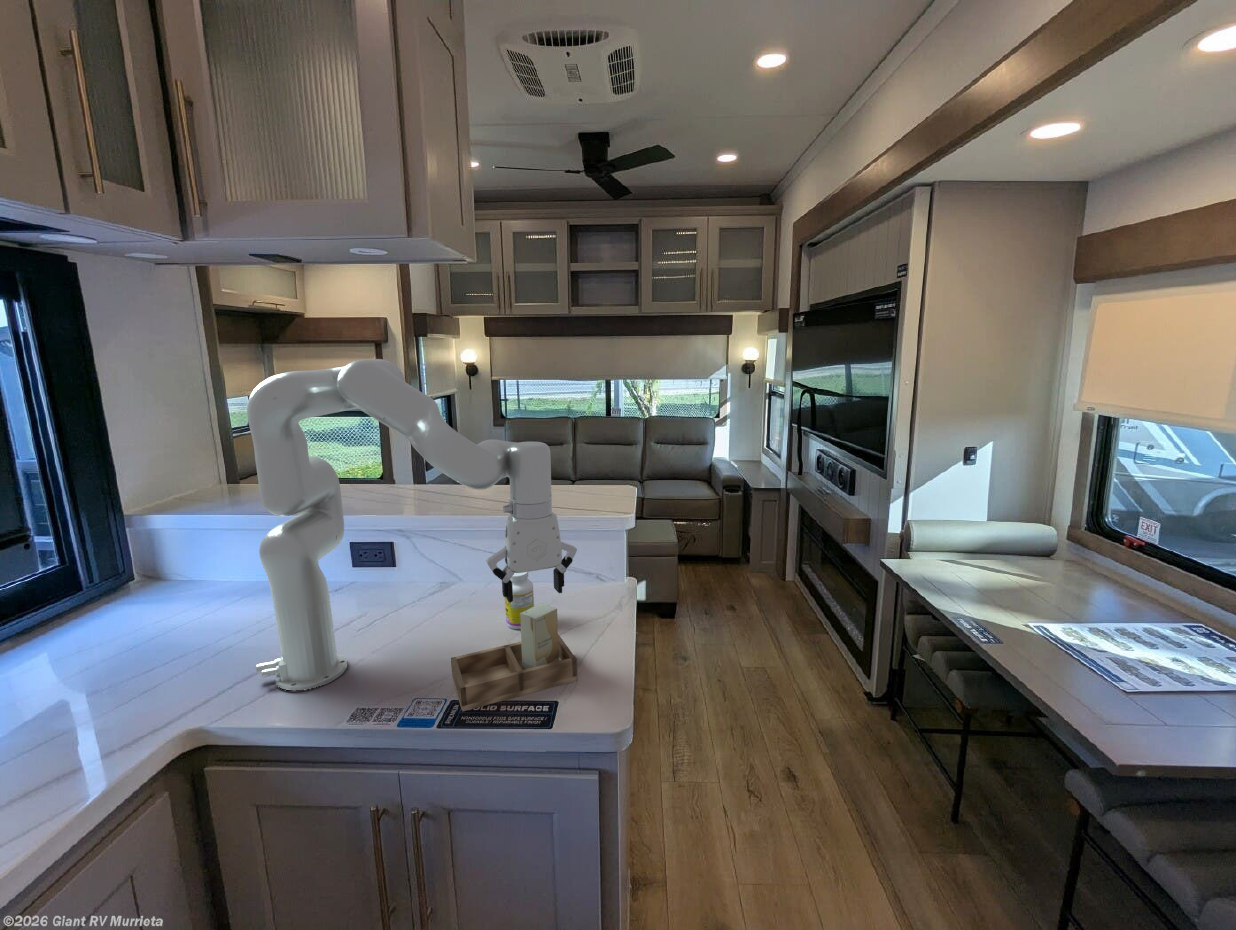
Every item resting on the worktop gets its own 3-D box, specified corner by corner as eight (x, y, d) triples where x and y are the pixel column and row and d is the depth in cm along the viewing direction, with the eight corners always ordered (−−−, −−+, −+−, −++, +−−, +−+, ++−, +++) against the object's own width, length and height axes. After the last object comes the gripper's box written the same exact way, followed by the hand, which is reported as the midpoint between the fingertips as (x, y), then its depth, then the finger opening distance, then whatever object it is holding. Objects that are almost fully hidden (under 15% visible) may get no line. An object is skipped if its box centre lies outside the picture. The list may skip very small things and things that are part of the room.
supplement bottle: (509, 617, 136) (506, 566, 133) (537, 616, 135) (534, 566, 133) (503, 630, 129) (499, 577, 127) (532, 630, 129) (529, 577, 126)
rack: (462, 711, 100) (460, 688, 99) (452, 678, 110) (450, 657, 110) (577, 680, 109) (576, 659, 108) (558, 652, 119) (557, 633, 118)
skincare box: (537, 679, 108) (533, 619, 106) (521, 671, 111) (518, 613, 108) (560, 664, 113) (558, 607, 111) (545, 657, 116) (542, 601, 113)
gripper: (488, 519, 98) (493, 611, 102) (582, 508, 105) (583, 594, 109) (480, 509, 105) (484, 595, 108) (568, 499, 112) (570, 580, 115)
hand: (534, 594), depth 109 cm, fingers open, 9 cm apart
